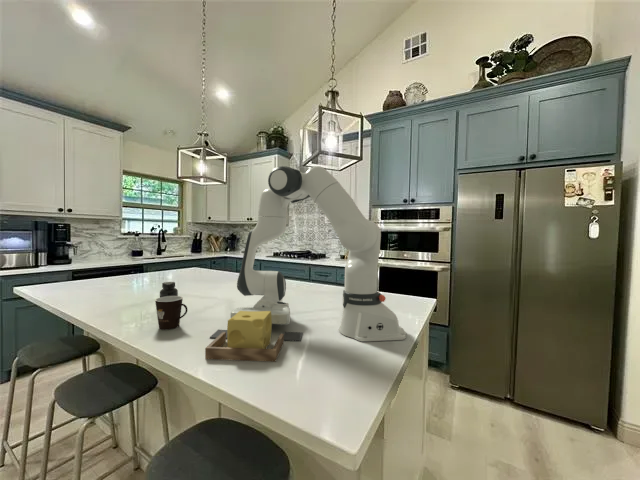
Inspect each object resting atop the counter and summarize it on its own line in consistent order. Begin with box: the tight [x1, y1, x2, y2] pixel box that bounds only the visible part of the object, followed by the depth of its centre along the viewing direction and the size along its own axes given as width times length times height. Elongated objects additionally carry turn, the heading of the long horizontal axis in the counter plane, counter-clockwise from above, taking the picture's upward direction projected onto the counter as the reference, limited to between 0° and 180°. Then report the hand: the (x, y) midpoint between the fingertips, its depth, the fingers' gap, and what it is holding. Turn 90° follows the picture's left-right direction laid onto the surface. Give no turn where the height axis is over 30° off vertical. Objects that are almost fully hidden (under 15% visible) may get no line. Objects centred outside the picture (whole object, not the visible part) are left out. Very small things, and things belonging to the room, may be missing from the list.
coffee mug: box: [154, 295, 188, 331], centre depth 102 cm, size 12×9×10 cm
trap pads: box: [209, 329, 304, 342], centre depth 96 cm, size 29×7×1 cm, turn 88°
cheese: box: [226, 311, 273, 349], centre depth 86 cm, size 10×11×10 cm
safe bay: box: [204, 332, 284, 363], centre depth 84 cm, size 19×12×3 cm, turn 88°
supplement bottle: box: [159, 281, 179, 298], centre depth 122 cm, size 7×7×12 cm
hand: (255, 323), depth 93 cm, fingers closed
